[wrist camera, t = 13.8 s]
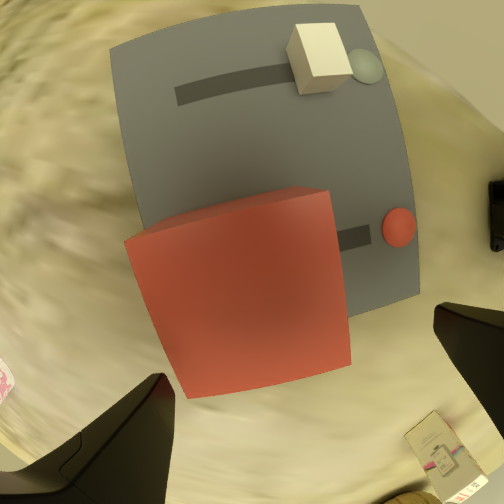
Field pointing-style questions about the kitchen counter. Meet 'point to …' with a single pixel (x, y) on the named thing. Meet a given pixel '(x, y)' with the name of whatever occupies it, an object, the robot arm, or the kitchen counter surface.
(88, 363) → the kitchen counter surface
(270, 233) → the cap
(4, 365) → the beverage cup
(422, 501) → the cantaloupe
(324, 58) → the block
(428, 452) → the ink cartridge box
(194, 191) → the breaker panel
